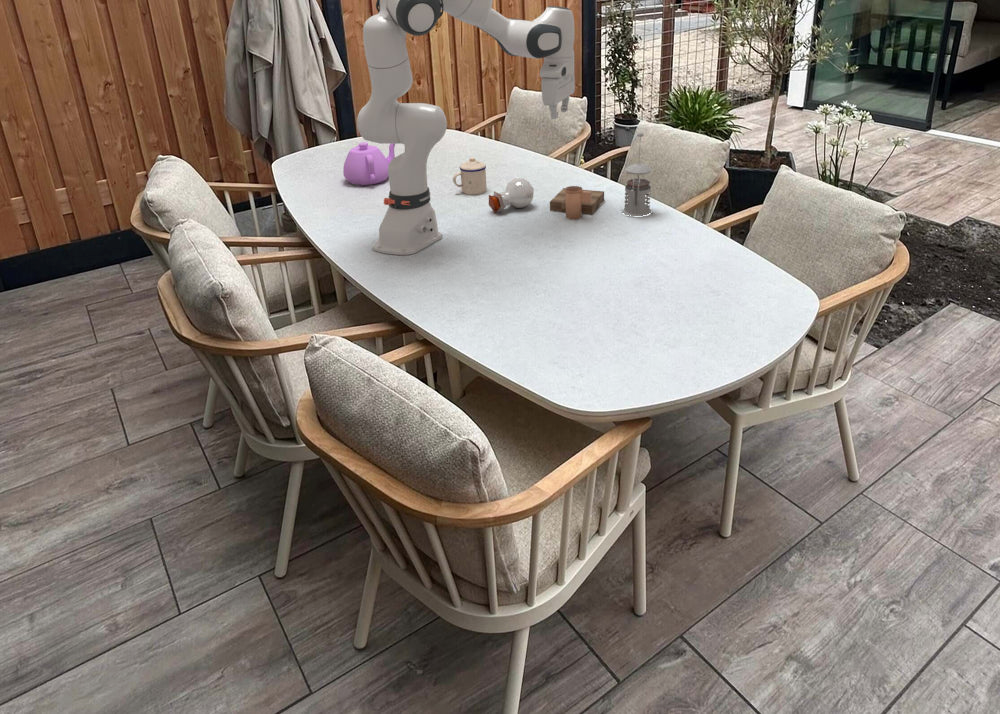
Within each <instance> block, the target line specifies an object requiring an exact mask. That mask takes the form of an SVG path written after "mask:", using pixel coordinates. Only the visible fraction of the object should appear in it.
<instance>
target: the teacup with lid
mask: <svg viewBox="0 0 1000 714" xmlns="http://www.w3.org/2000/svg"><path fill="white" fill-rule="evenodd" d="M486 165H487V164H486V163H484V162H483V161H479V160H476V157H474V156H473V157H469V159H468V160H467V161H466V162H463V163H461V164H460V165H459V172H457V173H455V174H454V175H453V177H452V182H453V184H454V186H456V187H457V188H461V192H462V193H463V194H465V195H470V196H473V195H474V196H475V195H481V194H484V193H486V192H487V172H486V170H487V169H486V168H487V166H486ZM458 176H460V182H461V184H458V183H457V181H456V180H457V177H458Z"/></svg>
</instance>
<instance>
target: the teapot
mask: <svg viewBox="0 0 1000 714" xmlns="http://www.w3.org/2000/svg"><path fill="white" fill-rule="evenodd" d="M388 146H389V147H388V155H387V157H386V156H385V155H384V153H383V152H382V151H381V150H380V149H379V147H377V145H369V143H368V142H366V141H365V142H364V141H363V142H360V143H358V145H356V147H352V148H351V149H349V152H348V154H347V155H346V158H345V160H344V163H343V170H342V171H343V173H342V174H343V177H344V178H345V180H347V182H349V183H350V184H352V185H356V186H368V185H369V186H370V185H376V184H380V183H382V182H384V181H386V180H387V179H388V178H389V175H388V166H389V163H390V162H391V160H392V159H394V158H395V157H396V154H395V146H396V144H389V145H388Z"/></svg>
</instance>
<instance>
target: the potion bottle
mask: <svg viewBox="0 0 1000 714" xmlns="http://www.w3.org/2000/svg"><path fill="white" fill-rule="evenodd" d="M534 192H535V188H534V187H533V186H532V184H531V183H530V181H528V180H527V179H525V178H514V179H512V180H511V181H510V182H508V183H507V185H506V188H505V191H503V192H500V193H499V192H498V191H497V192H496V191H493V195H491V194H488V205H489V207H490V209H491V210H492V212H493V214H496V213H497V212H498V211H499V212H500V213H501V212H502V211H503V210H504V209H506V207H507V206H512V207H513V208H515V209H524V208H526V207H527V206H529V205H531V203H532V202H533V199H534Z"/></svg>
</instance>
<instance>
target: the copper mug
mask: <svg viewBox="0 0 1000 714" xmlns="http://www.w3.org/2000/svg"><path fill="white" fill-rule="evenodd" d="M564 188H565V192H566V212H565V218H566V219H567V220H580V219H582V216H583V214H582V202H586V203H590V202H591V193H592V191H593V190H592V191H582V190H583V187H582V186H579V185H578V186H577V185H571V186H567V187H564Z"/></svg>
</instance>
